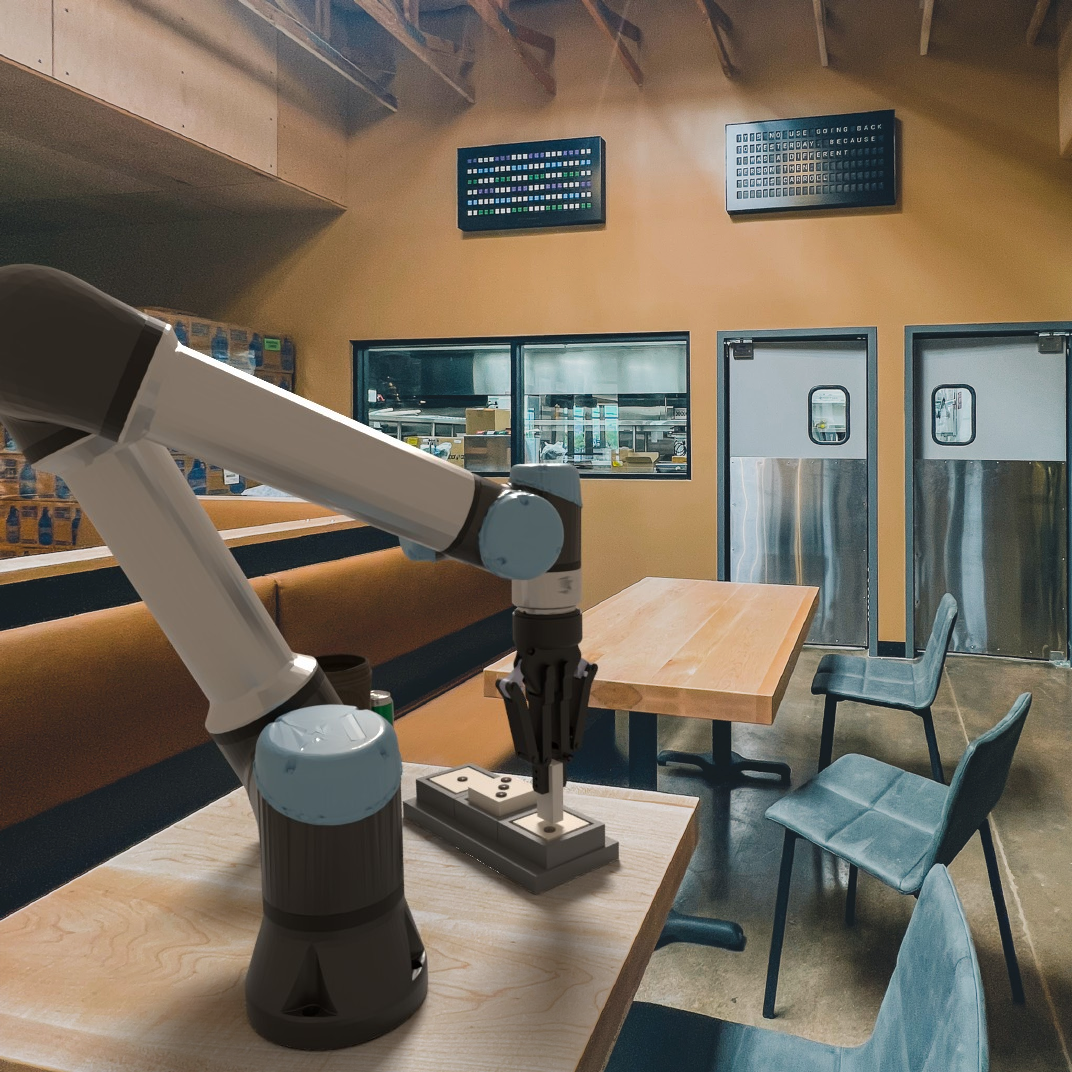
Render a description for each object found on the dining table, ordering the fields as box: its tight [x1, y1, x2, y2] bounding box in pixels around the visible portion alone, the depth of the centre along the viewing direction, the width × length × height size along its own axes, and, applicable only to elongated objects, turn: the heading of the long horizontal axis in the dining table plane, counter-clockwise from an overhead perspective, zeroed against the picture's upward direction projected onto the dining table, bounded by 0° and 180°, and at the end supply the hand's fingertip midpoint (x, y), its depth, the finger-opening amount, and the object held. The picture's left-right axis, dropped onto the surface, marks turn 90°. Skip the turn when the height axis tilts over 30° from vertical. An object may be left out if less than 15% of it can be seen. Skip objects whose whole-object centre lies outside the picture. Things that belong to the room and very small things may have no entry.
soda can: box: [370, 690, 395, 729], centre depth 124 cm, size 5×5×12 cm
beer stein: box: [312, 653, 373, 711], centre depth 111 cm, size 15×11×20 cm
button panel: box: [402, 762, 620, 896], centre depth 106 cm, size 12×26×4 cm, turn 39°
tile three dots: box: [468, 773, 537, 817], centre depth 105 cm, size 6×6×3 cm
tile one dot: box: [429, 767, 493, 795], centre depth 112 cm, size 6×6×3 cm
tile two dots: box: [513, 811, 590, 842], centre depth 99 cm, size 6×6×3 cm
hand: (550, 818), depth 99 cm, fingers closed
